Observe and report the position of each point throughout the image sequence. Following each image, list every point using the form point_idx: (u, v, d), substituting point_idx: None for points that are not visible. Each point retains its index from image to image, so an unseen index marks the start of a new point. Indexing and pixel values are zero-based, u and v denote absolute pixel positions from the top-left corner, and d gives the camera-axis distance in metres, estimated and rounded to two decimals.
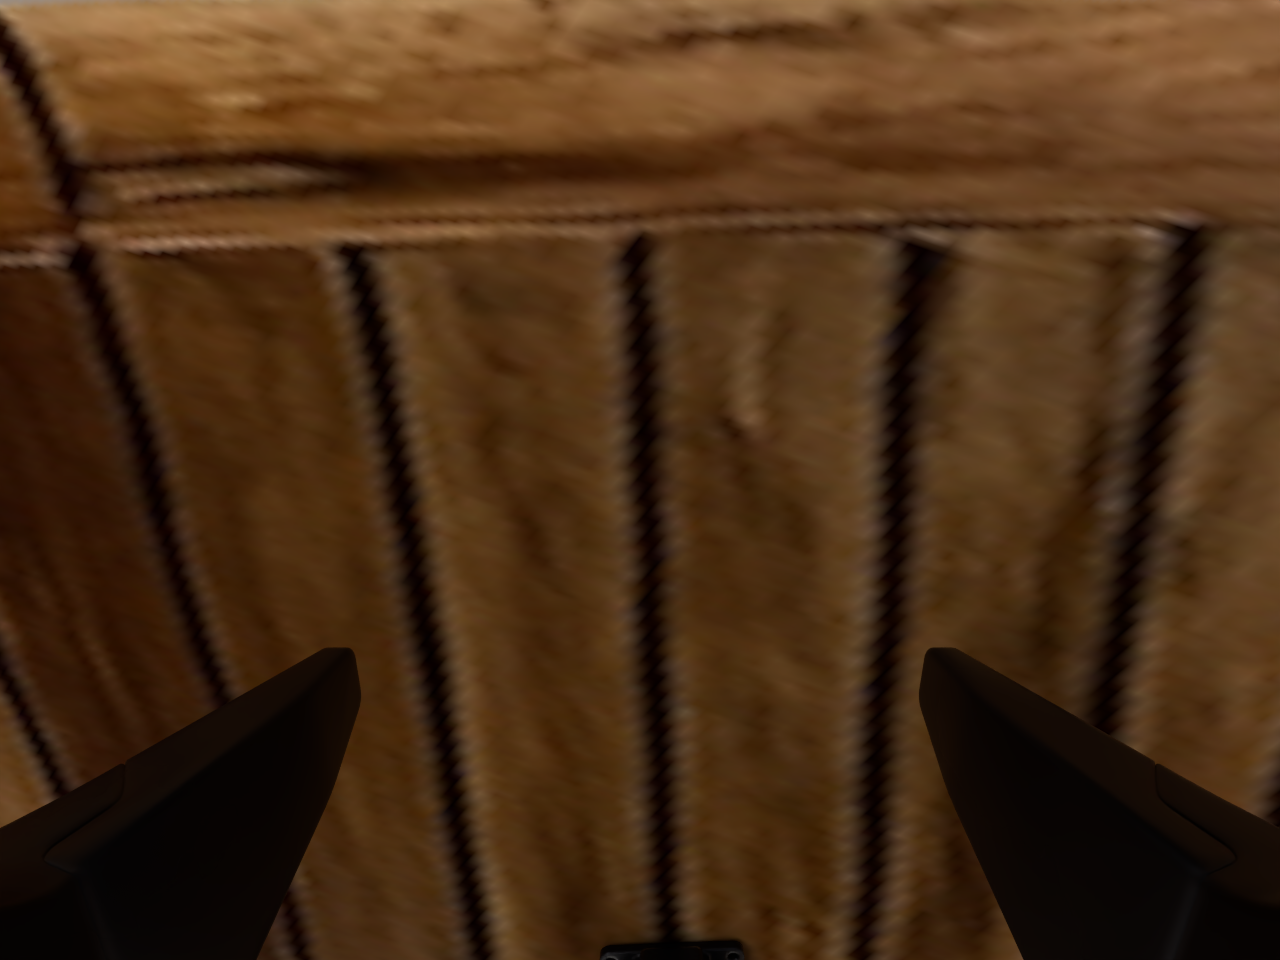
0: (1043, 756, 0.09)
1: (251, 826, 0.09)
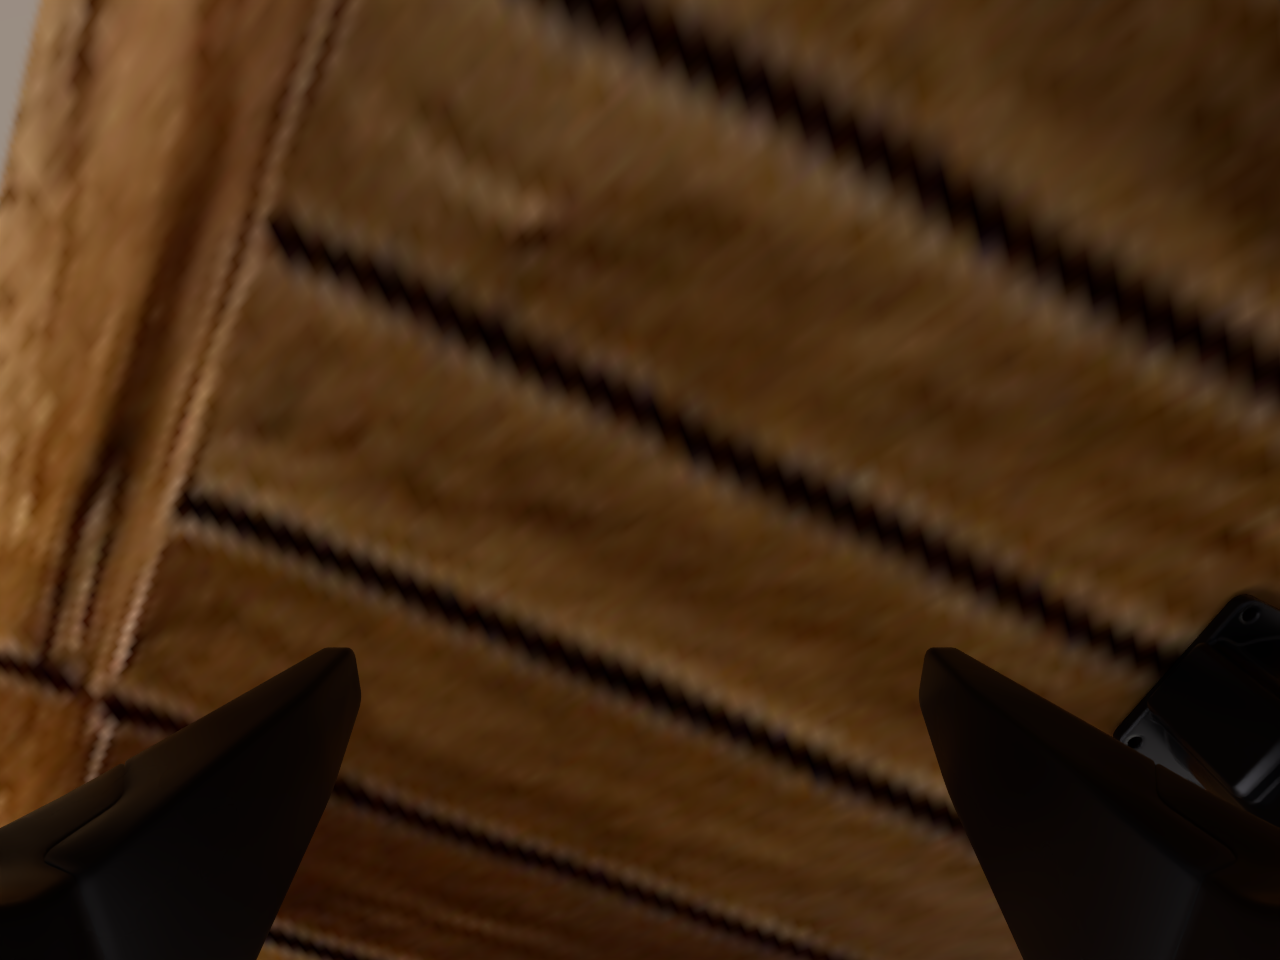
0: (1043, 756, 0.09)
1: (251, 826, 0.09)
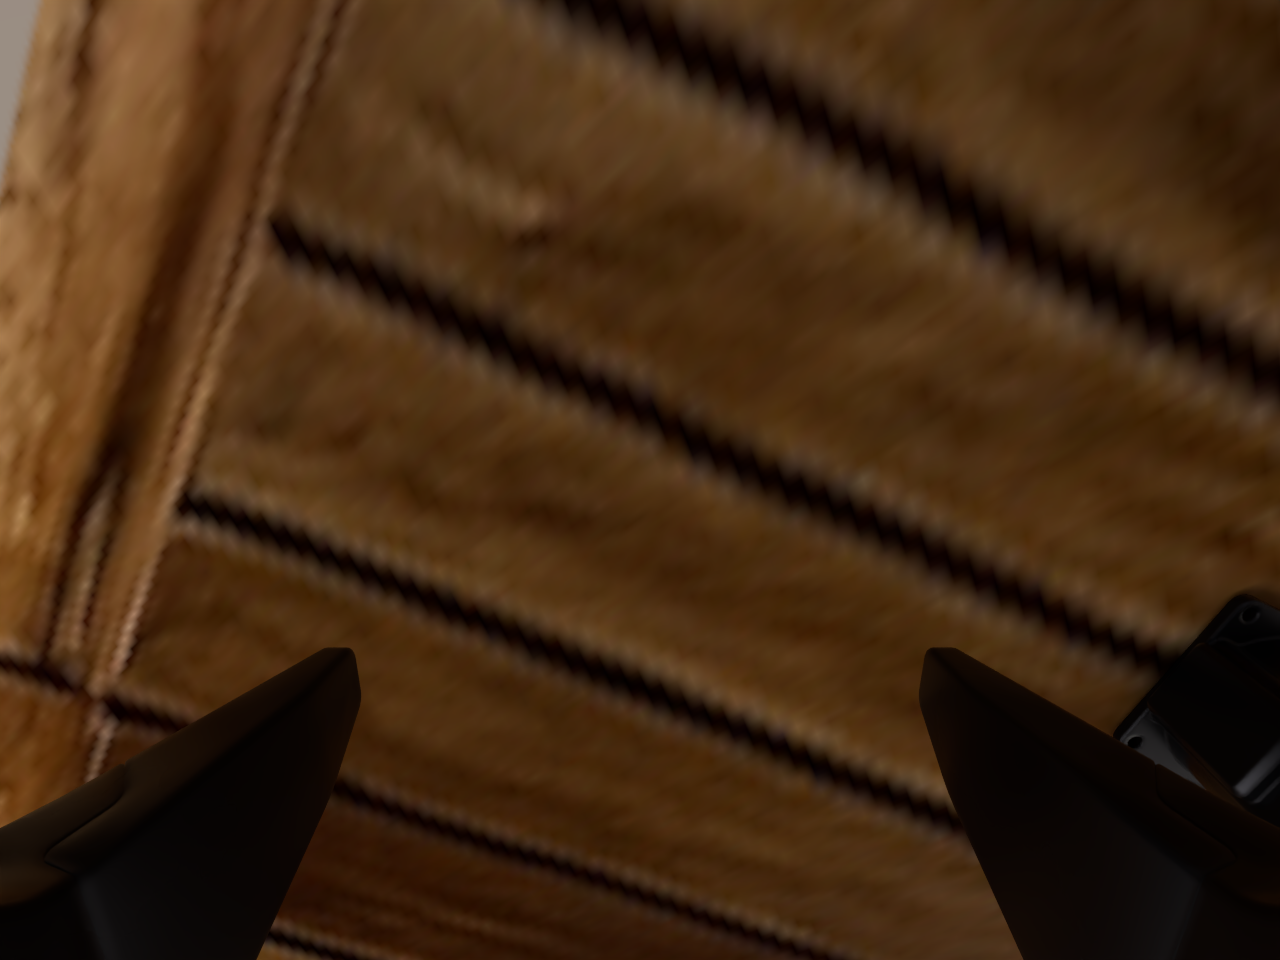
0: (1043, 756, 0.09)
1: (251, 826, 0.09)
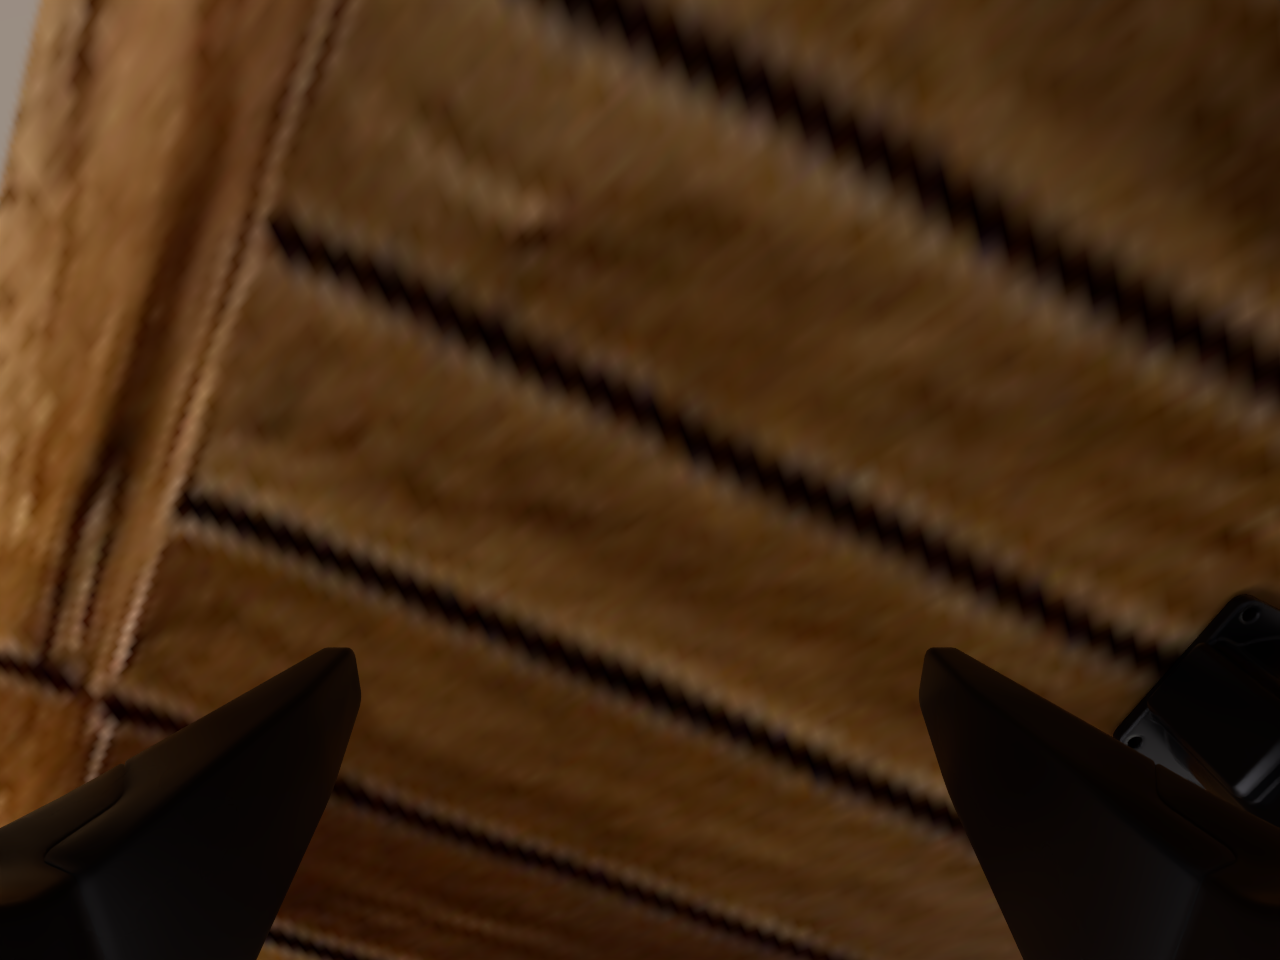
0: (1043, 756, 0.09)
1: (251, 826, 0.09)
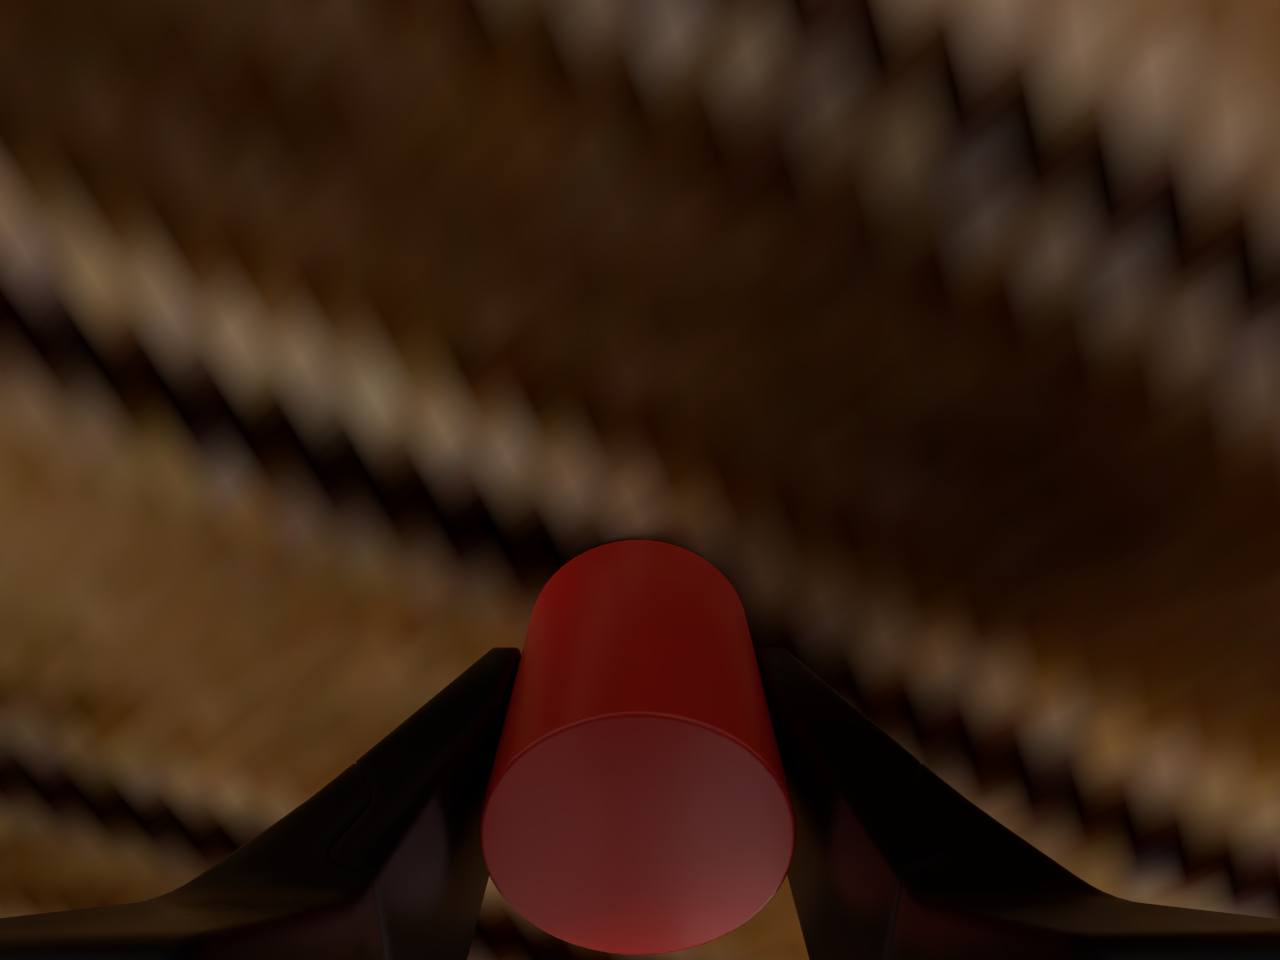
0: (815, 756, 0.09)
1: (467, 826, 0.09)
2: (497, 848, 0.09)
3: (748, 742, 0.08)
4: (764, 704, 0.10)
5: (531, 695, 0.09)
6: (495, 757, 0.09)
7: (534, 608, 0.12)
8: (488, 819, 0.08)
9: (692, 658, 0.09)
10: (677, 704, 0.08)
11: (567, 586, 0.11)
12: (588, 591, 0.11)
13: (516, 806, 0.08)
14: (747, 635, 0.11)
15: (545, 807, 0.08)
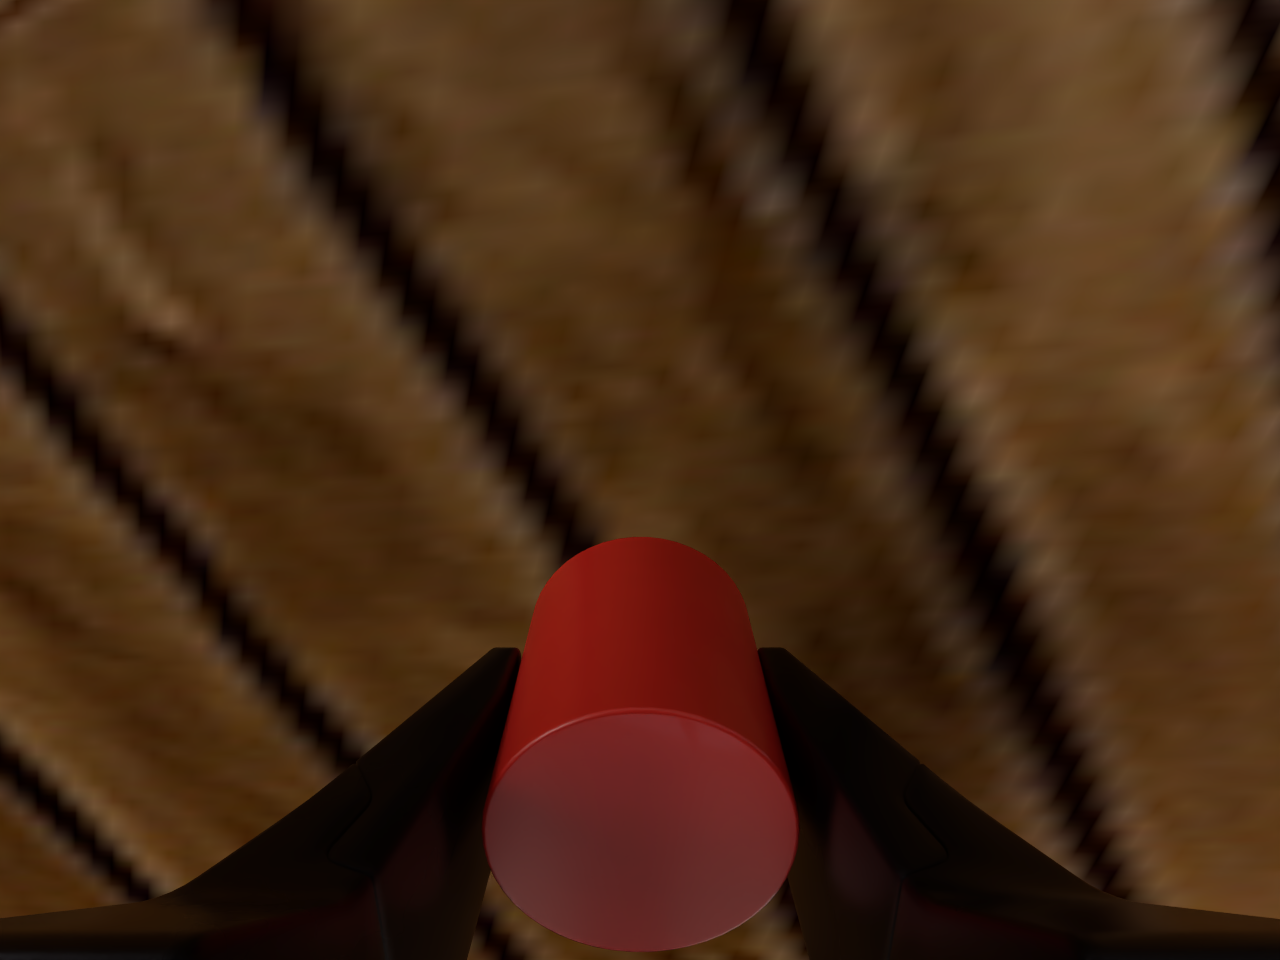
0: (815, 756, 0.09)
1: (467, 826, 0.09)
2: (499, 845, 0.09)
3: (752, 739, 0.08)
4: (767, 701, 0.10)
5: (533, 692, 0.09)
6: None
7: (536, 605, 0.12)
8: (490, 815, 0.08)
9: (695, 654, 0.09)
10: (680, 701, 0.08)
11: (569, 583, 0.11)
12: (591, 589, 0.11)
13: (519, 802, 0.08)
14: (749, 632, 0.11)
15: (548, 803, 0.08)
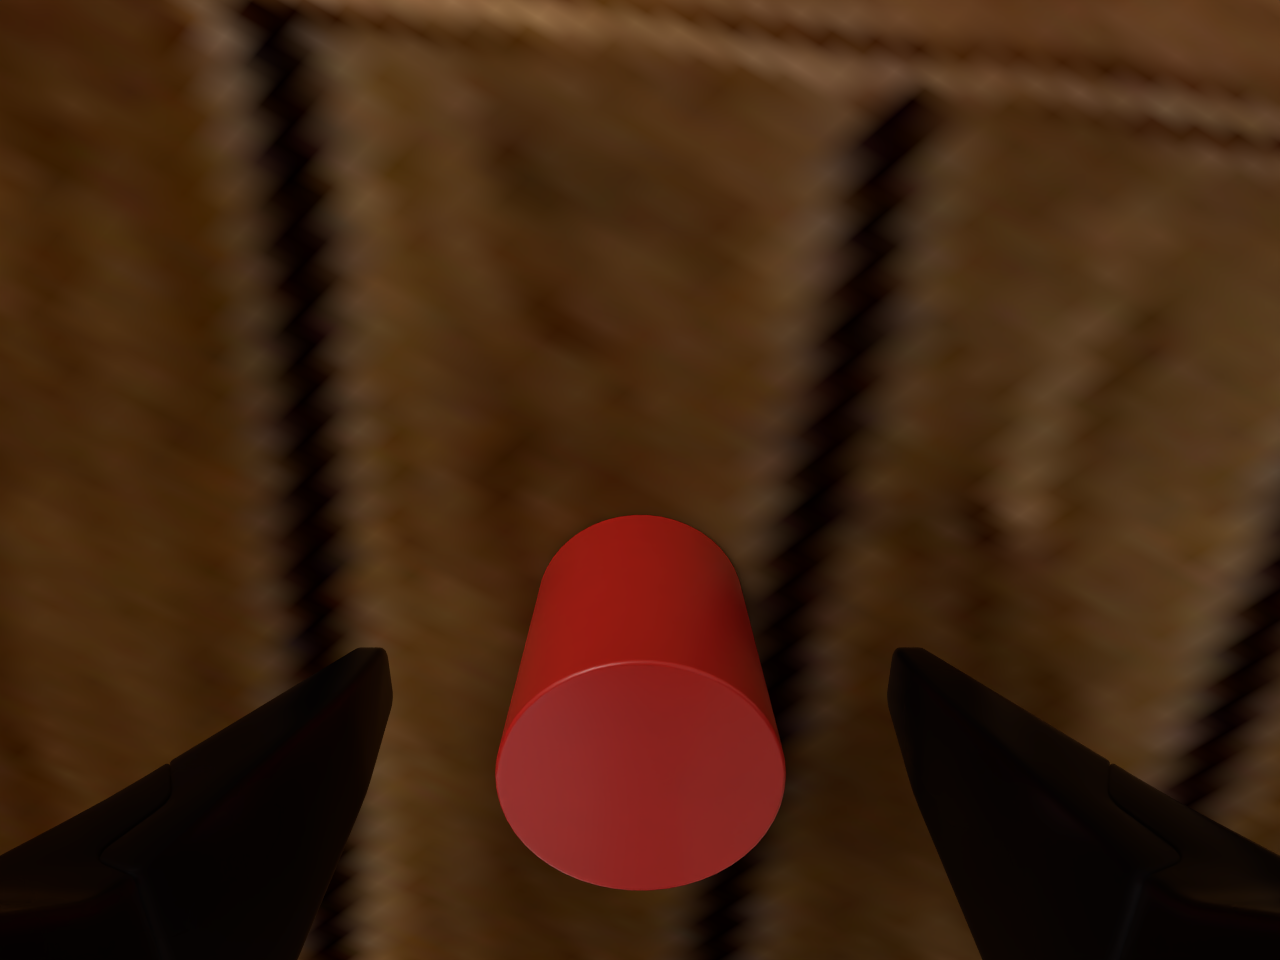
0: (999, 756, 0.09)
1: (293, 826, 0.09)
2: (512, 788, 0.09)
3: (742, 689, 0.09)
4: (757, 661, 0.10)
5: (542, 651, 0.10)
6: (509, 708, 0.10)
7: (542, 579, 0.13)
8: (504, 761, 0.09)
9: (690, 616, 0.10)
10: (677, 655, 0.09)
11: (574, 557, 0.12)
12: (593, 560, 0.12)
13: (529, 749, 0.09)
14: (742, 602, 0.12)
15: (555, 749, 0.09)
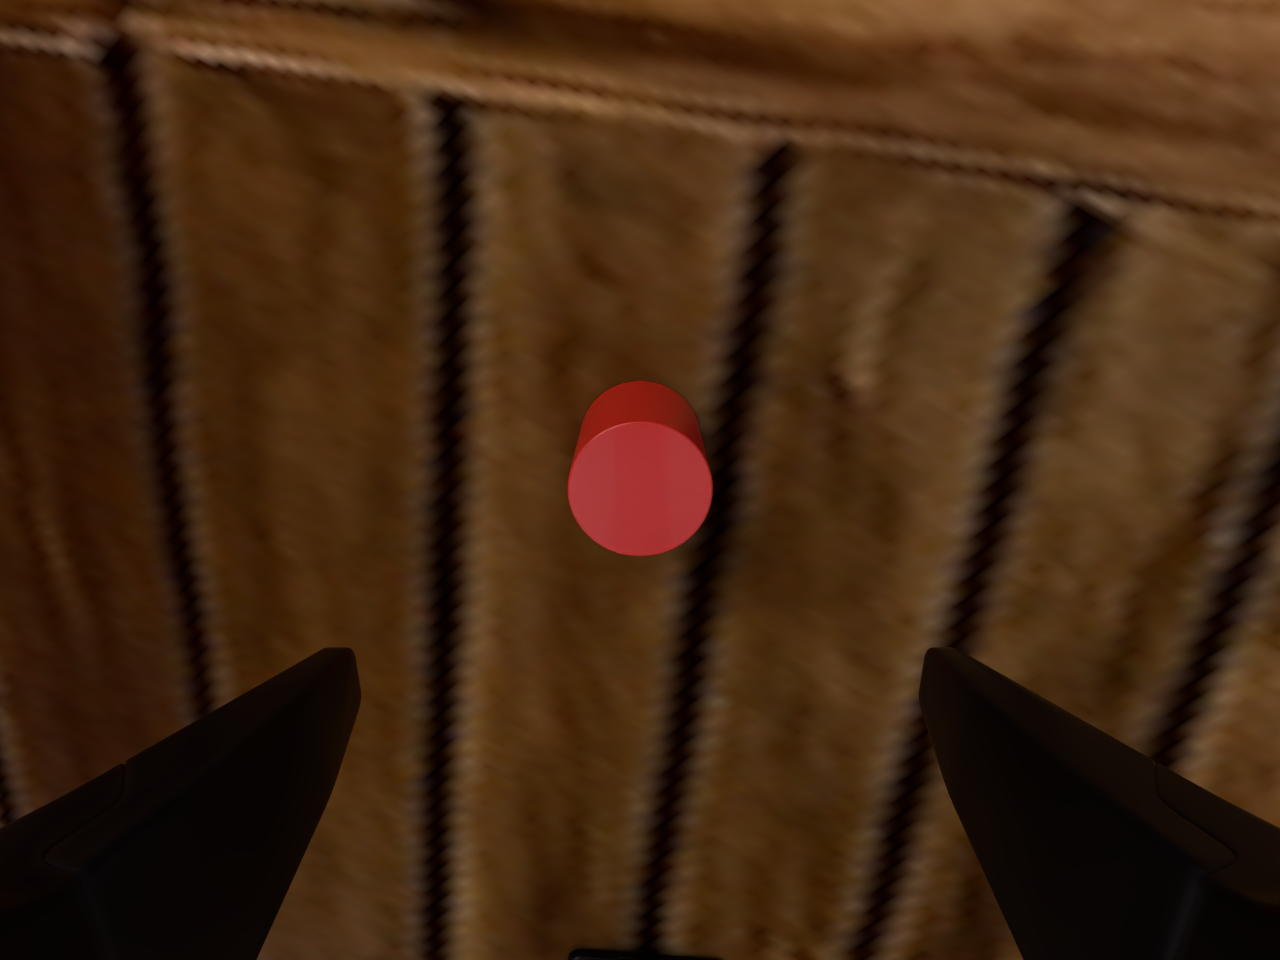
0: (1043, 756, 0.09)
1: (251, 826, 0.09)
2: (576, 493, 0.19)
3: (689, 438, 0.18)
4: (701, 442, 0.20)
5: (590, 430, 0.19)
6: (573, 459, 0.19)
7: None
8: (572, 478, 0.19)
9: (665, 413, 0.19)
10: (658, 421, 0.18)
11: (603, 400, 0.22)
12: (614, 397, 0.21)
13: (585, 470, 0.19)
14: (697, 425, 0.21)
15: (598, 470, 0.19)
